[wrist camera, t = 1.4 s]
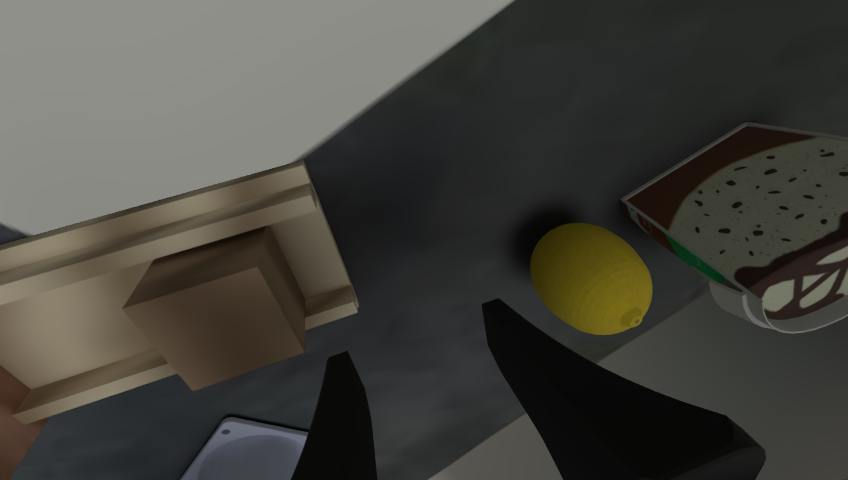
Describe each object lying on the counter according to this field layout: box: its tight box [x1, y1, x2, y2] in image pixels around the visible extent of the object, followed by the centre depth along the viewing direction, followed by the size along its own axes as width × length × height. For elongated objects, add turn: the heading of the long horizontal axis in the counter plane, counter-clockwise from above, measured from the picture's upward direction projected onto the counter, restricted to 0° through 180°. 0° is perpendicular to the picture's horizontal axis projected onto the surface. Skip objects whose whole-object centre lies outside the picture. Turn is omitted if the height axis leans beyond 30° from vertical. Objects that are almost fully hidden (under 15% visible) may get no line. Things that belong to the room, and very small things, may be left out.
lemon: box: [530, 223, 652, 335], centre depth 21 cm, size 6×6×8 cm
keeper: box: [122, 225, 305, 391], centre depth 17 cm, size 5×5×4 cm
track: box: [0, 160, 359, 480], centre depth 17 cm, size 18×9×5 cm, turn 102°
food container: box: [620, 122, 848, 333], centre depth 22 cm, size 12×6×10 cm, turn 119°
